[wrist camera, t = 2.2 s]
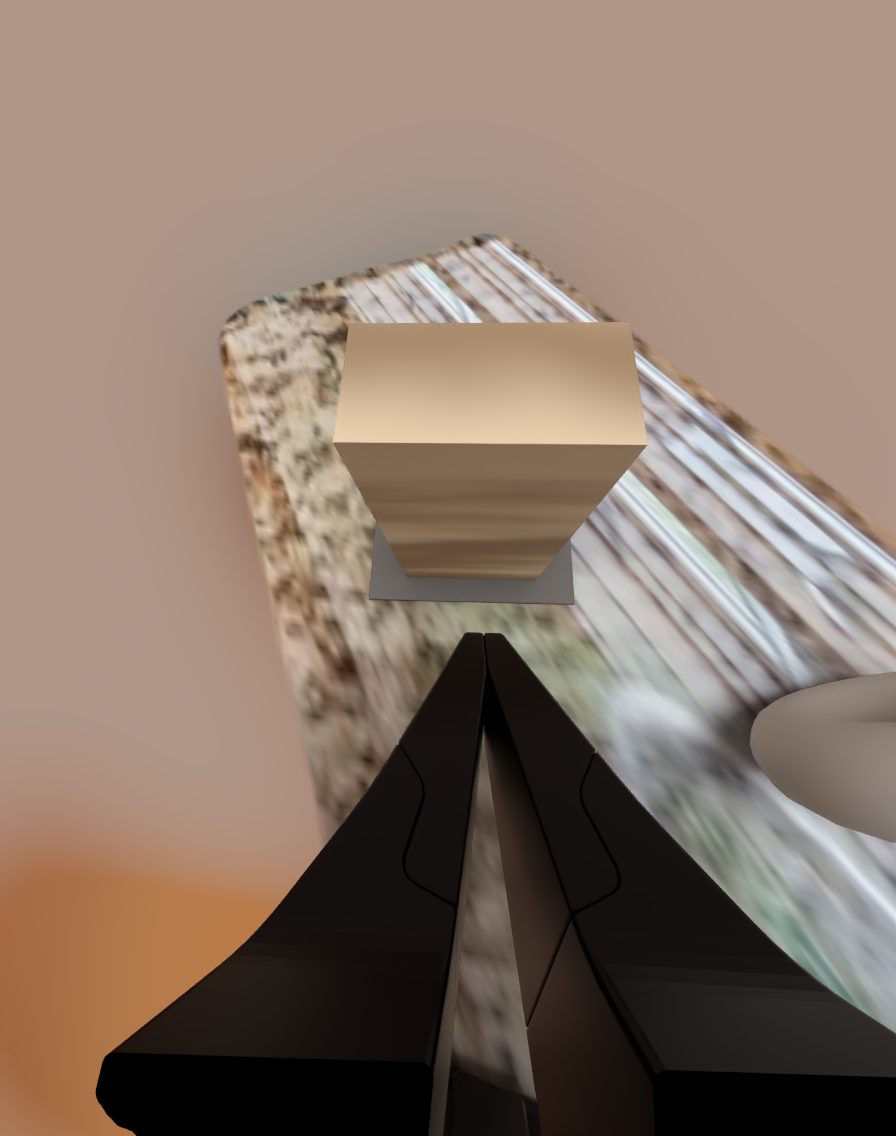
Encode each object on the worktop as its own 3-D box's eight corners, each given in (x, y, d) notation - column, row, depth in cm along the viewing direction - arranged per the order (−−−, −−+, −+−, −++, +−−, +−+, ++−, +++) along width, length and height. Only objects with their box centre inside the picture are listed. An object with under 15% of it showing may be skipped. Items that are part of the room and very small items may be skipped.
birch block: (535, 580, 19) (647, 444, 8) (407, 577, 20) (332, 442, 8) (533, 520, 20) (629, 322, 9) (410, 518, 21) (349, 323, 9)
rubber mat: (573, 604, 19) (574, 603, 19) (369, 599, 20) (368, 598, 19) (557, 364, 24) (558, 362, 23) (391, 364, 24) (390, 362, 24)
